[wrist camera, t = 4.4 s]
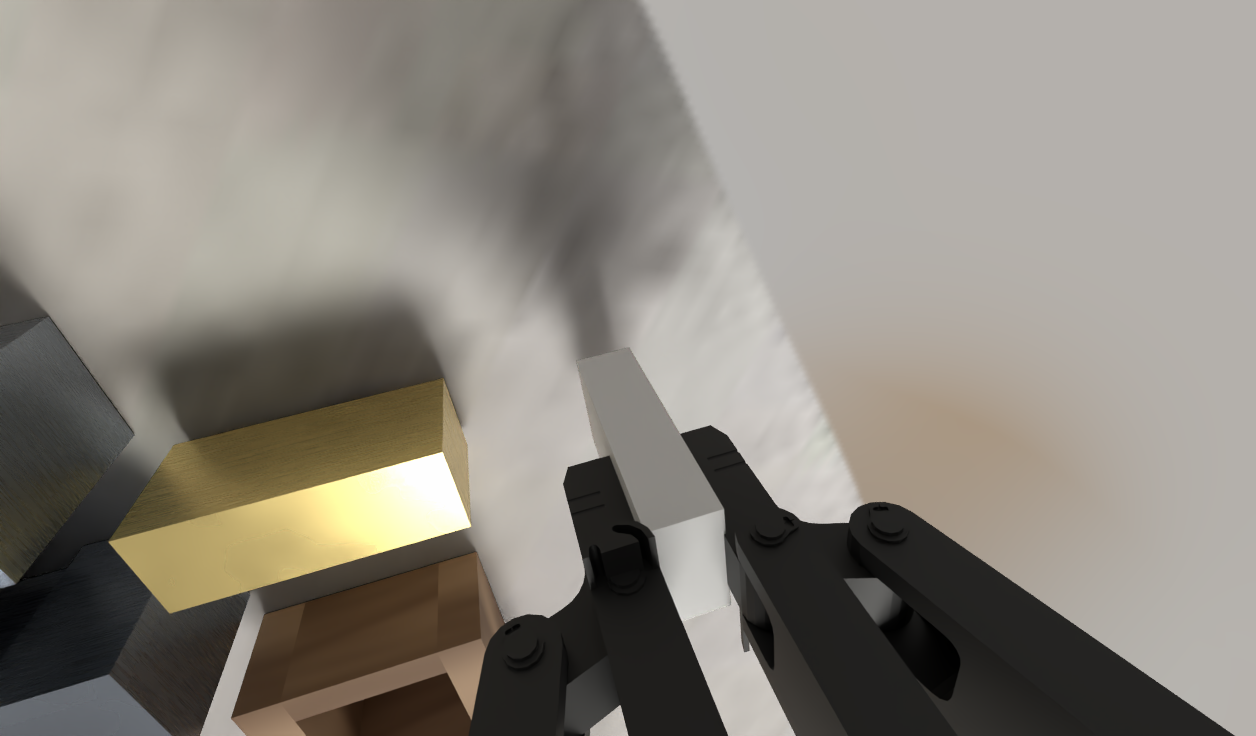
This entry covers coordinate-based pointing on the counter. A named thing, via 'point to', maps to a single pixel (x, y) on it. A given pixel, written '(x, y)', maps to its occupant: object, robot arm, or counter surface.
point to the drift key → (298, 496)
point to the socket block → (85, 571)
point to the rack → (374, 658)
